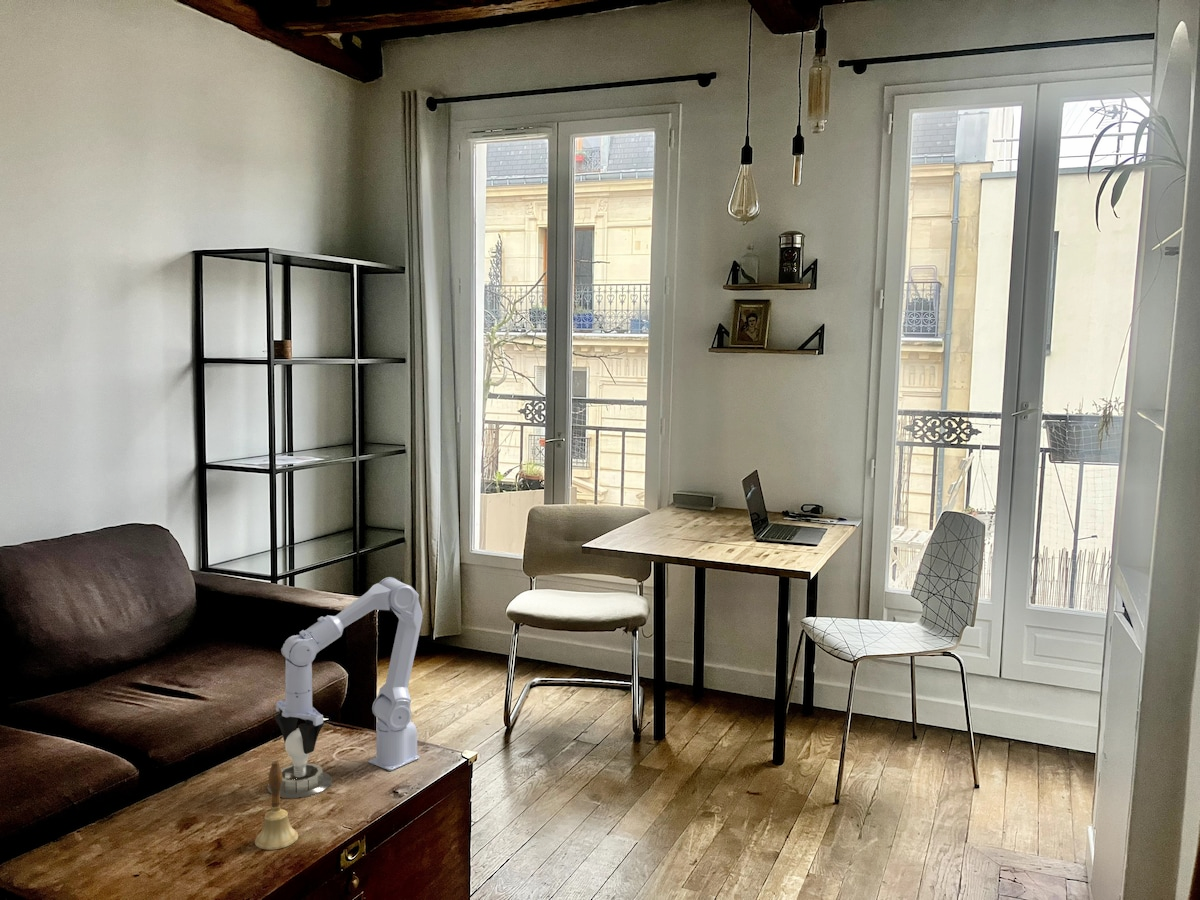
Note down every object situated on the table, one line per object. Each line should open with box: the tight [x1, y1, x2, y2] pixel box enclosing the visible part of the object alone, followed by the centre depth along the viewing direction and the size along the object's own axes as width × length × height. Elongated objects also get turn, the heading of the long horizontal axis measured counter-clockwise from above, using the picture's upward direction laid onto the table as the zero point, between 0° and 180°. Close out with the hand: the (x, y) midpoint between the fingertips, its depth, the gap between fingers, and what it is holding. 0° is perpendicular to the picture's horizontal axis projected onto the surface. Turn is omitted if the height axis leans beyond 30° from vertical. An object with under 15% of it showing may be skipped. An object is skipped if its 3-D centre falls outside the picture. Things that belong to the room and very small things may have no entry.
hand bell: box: [254, 760, 299, 851], centre depth 187 cm, size 8×8×16 cm
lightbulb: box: [284, 728, 311, 778], centre depth 211 cm, size 6×6×11 cm
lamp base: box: [266, 762, 333, 799], centre depth 212 cm, size 14×14×3 cm
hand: (299, 748), depth 211 cm, fingers closed on lightbulb, 6 cm apart
